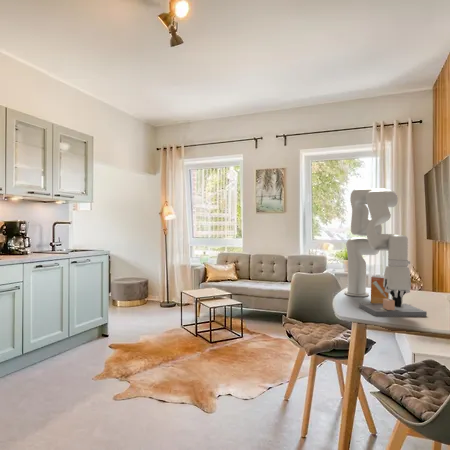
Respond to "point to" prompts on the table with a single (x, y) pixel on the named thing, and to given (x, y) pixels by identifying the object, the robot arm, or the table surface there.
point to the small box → (378, 289)
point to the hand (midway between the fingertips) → (397, 306)
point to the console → (404, 310)
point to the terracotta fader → (388, 304)
